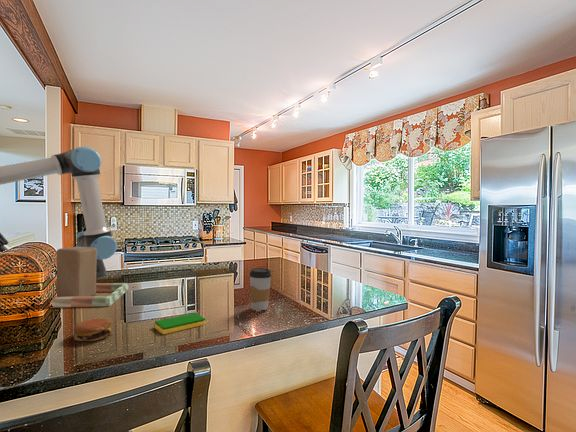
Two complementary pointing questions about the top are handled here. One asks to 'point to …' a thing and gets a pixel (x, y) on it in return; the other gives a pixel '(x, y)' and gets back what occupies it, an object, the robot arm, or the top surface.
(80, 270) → the block
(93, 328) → the burger
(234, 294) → the top surface
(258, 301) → the coffee cup
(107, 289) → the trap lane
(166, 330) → the dish sponge
